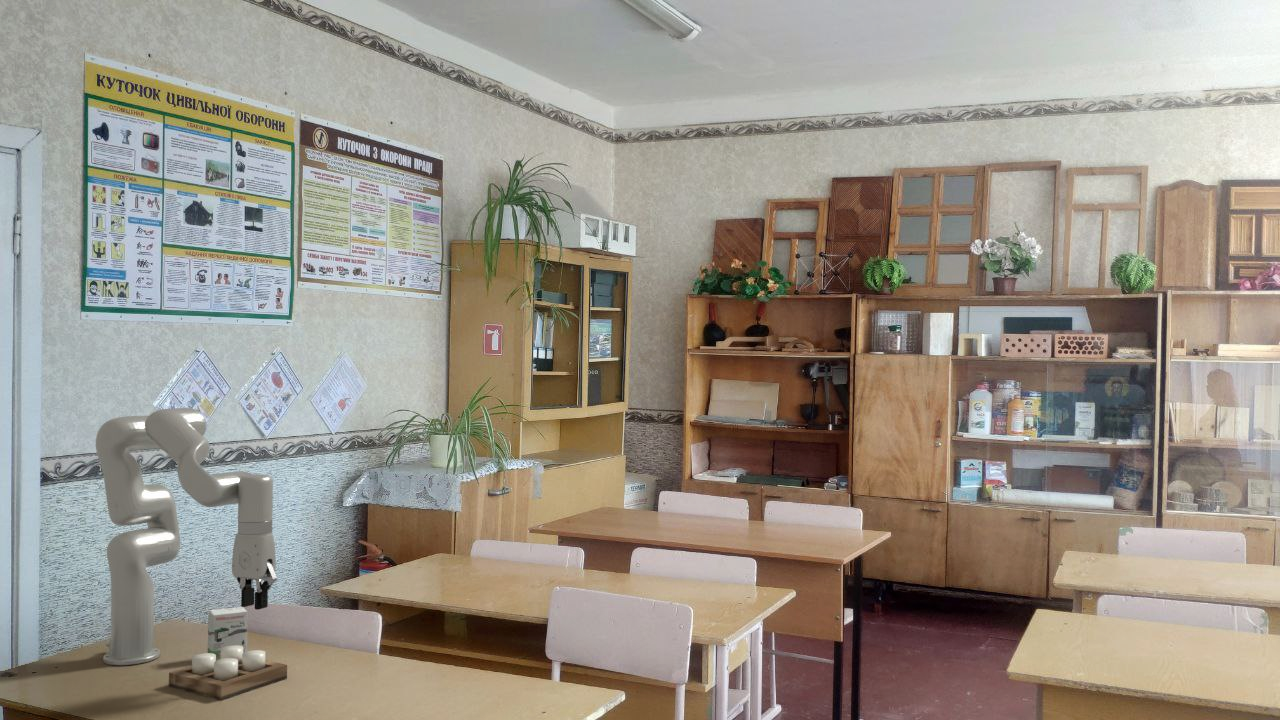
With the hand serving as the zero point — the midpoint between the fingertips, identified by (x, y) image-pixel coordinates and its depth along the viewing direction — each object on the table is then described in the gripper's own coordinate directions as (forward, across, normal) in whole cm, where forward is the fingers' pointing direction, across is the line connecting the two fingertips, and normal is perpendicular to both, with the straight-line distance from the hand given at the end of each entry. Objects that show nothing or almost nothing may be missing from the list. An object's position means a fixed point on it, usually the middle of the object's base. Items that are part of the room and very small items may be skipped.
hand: (254, 606), depth 236 cm
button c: (+14, 0, -8) cm, 16 cm away
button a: (+14, -8, -8) cm, 18 cm away
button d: (+14, 0, 0) cm, 14 cm away
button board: (+17, -4, -4) cm, 18 cm away
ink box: (+18, -21, +9) cm, 29 cm away
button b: (+14, -8, 0) cm, 16 cm away
